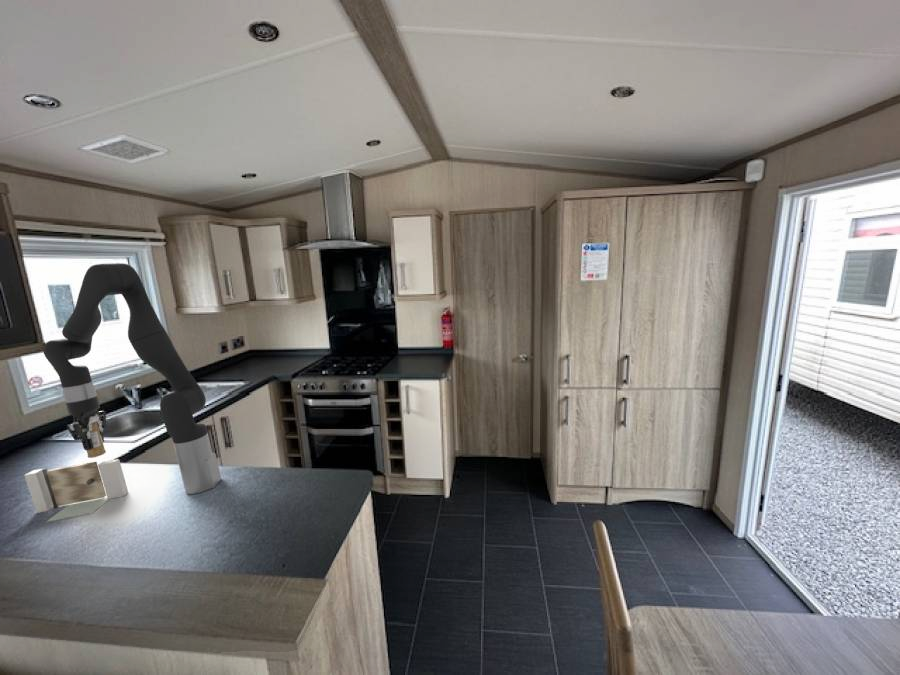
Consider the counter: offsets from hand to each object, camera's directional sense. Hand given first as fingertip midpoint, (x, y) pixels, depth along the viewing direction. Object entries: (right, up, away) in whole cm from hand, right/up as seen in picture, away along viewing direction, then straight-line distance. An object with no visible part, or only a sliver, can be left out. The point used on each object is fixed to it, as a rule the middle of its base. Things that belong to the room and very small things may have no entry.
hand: (94, 446), depth 125 cm
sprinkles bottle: (0, -3, +1) cm, 3 cm away
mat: (+4, -17, -9) cm, 20 cm away
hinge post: (-9, -18, -6) cm, 22 cm away
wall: (+10, -16, -3) cm, 19 cm away
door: (0, -17, -5) cm, 18 cm away
